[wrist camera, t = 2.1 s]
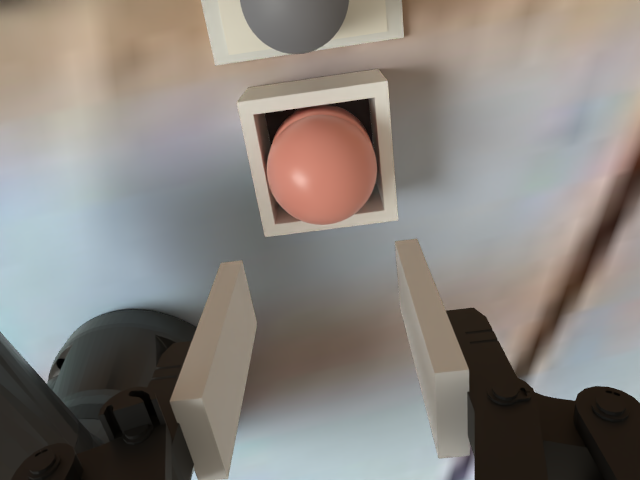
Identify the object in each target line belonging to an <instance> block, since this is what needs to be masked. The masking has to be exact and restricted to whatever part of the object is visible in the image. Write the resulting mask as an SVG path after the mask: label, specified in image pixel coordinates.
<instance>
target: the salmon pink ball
mask: <svg viewBox="0 0 640 480" xmlns="http://www.w3.org/2000/svg"><path fill="white" fill-rule="evenodd" d="M376 176H377V162H376V156H375V153H374V149H373V146H372V144H371V141H370V138H369V135H368V133H367V131H366V129H365V127H364V126H363V124H362V123H361V122H360V121H359V120H358V119H357V118H356V117H355V116H354V115H353V114H351V113H350V112H348V111H347V110H345V109H343V108H340V107H337V106H334V105H329V104H325V105H318V106H311V107H304V108H301V109H299V110H297V111H295V112H294V113H292V114H291V115H289V116H288V117H287V118H286V119H285V120H284V121H283V122H282V124H281V125H280V127H279V128H278V130H277V132H276V134H275V136H274V139H273V142H272V145H271V149H270V152H269V155H268V161H267V178H268V183H269V186H270V189H271V192H272V194H273V196H274V198H275V199H276V201H277V202H278V203H279V205H280V206H281V207H282V208H283V209H284V210H285V211H286V212H287V213H289V214H290V215H291V216H293V217H295V218H296V219H298V220H301V221H303V222H306V223H310V224H316V225H327V224H334V223H337V222H341V221H343V220H345V219H347V218H349V217H351V216H352V215H354V214H355V213H356V212H358V211H359V210H360V209H361V208H362V207H363V206H364V204H365V203H366V202H367V200H368V199H369V197H370V195H371V193H372V191H373V188H374V186H375V182H376Z"/></svg>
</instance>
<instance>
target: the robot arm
mask: <svg viewBox="0 0 640 480" xmlns="http://www.w3.org/2000/svg"><path fill="white" fill-rule="evenodd" d="M395 251H396V264H397V276H398V288H399V301H400V309H401V313H402V317H403V321H404V325H405V329H406V333H407V337H408V341H409V345H410V348H411V352H412V356H413V360H414V364H415V368H416V372H417V376H418V380H419V384H420V388H421V392H422V395H423V399H424V403H425V407H426V411H427V415H428V419H429V423H430V427H431V431H432V435H433V438H434V442H435V446H436V450H437V454H438V458H450V457H460V456H470V445H471V447H472V450H473V453H474V456H475V480H640V403H639V402H638V401H637V400H636V399H635V398H634V397H632V396H630V395H629V394H627V393H625V392H623V391H621V390H617V389H614V388H610V387H600V386H595V387H590V388H586V389H584V390H583V391H581V392H580V393H579V394H578V395H577V398H576V401H572V400H565V399H557V398H551V397H547V396H543V395H540V394H538V393H535V392H534V391H533V389H532V388H531V387H530V386H529V385H528V384H527V383H526V382H525V381H523V380H521V379H519V378H517V376H516V374H515V372H514V370H513V369H512V367H511V365H510V363H509V361H508V359H507V357H506V355H505V353H504V351H503V349H502V347H501V345H500V343H499V341H497V337H496V335H495V334H494V332H493V331H492V328H491V326H490V324H489V322H488V320H487V318H486V317H485V316H484V315H482V314H481V313H480V312H479V311H477V310H476V309H475V308H466V309H458V310H449V311H445V308H444V305H443V303H442V300H441V298H440V295H439V293H438V290H437V288H436V285H435V283H434V280H433V278H432V275H431V273H430V270H429V268H428V265H427V263H426V260H425V258H424V255H423V253H422V250H421V248H420V245H419V243H418V240H417V239H411V240H403V241H395ZM256 329H257V320H256V316H255V312H254V308H253V304H252V299H251V295H250V291H249V287H248V283H247V278H246V274H245V270H244V266H243V262H242V260H241V261H233V262H224V263H221V264H220V267H219V269H218V272H217V275H216V277H215V280H214V283H213V285H212V288H211V291H210V294H209V296H208V299H207V302H206V304H205V307H204V310H203V313H202V315H201V318H200V321H199V323H198V326H197V328H196V327H194V326H192V325H191V324H189V323H187V322H185V321H183V320H180V319H178V318H175V317H173V316H170V315H166V314H163V313H158V312H153V311H145V310H122V311H115V312H111V313H107V314H103V315H100V316H98V317H95V318H93V319H91V320H89V321H88V322H86V323H84V324H83V325H82V326H80V327H79V328H78V329H77V330H76V331H75V332H74V333H73V334H72V335H71V336H70V338H69V339H68V340H67V342H66V343H65V344H64V346H63V347H62V349H61V350H60V351H59V353H58V354H57V356H56V358H55V360H54V362H53V364H52V367H51V370H50V373H49V379H48V383H47V384H46V383H45V382H44V380H43V379H42V378H41V377H40V376H39V375H38V374H37V373H36V371H35V370H34V369H33V368H32V367H31V366H30V365H29V364H28V362H27V361H26V360H25V359H24V358H23V357H22V356H21V355H20V353H19V352H18V351H17V350H16V349H15V348H14V347H13V346H12V344H11V343H10V342H9V341H8V340H7V339H6V338H5V337H4V336H3V334H2V333H1V332H0V480H191V477H192V474H193V472H194V471H195V473H196V476H197V478H198V480H221V479H228V476H229V470H230V465H231V460H232V455H233V449H234V444H235V439H236V434H237V428H238V423H239V418H240V413H241V407H242V402H243V397H244V392H245V386H246V381H247V376H248V371H249V365H250V360H251V355H252V350H253V344H254V339H255V334H256Z"/></svg>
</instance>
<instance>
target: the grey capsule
mask: <svg viewBox="0 0 640 480" xmlns="http://www.w3.org/2000/svg"><path fill="white" fill-rule="evenodd" d="M240 4H241V8H242V12H243V15H244V17H245V20H246V22H247V24H248V26H249V27H250V29H251V30H252V31H253V33H254V34H255V35H256V36H257V37H258V38H259V39H260V40H261V41H262V42H263V43H264V44H266V45H267V46H269V47H271V48H273V49H275V50H277V51H280V52H283V53H288V54H304V53H308V52H311V51H314V50H317V49H318V48H320V47H322V46H324V45H325V44H326V43H328V42H329V41H330V40H331V39H332V38H333V37H334V36H335V34H336V33H337V32H338V31H339V29H340V27H341V26H342V24H343V22H344V19H345V17H346V14H347V10H348V5H349V0H240Z"/></svg>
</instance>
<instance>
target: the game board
mask: <svg viewBox="0 0 640 480" xmlns="http://www.w3.org/2000/svg"><path fill="white" fill-rule="evenodd" d="M201 3H202V7H203V12H204V16H205V21H206V25H207V30H208V34H209V39H210V43H211V48H212V53H213V57H214V62H215V66H216V65H223V64H229V63H236V62H243V61H250V60H256V59H263V58H270V57H277V56H283V55H290V54H288V53H283V52H280V51H277V50H275V49H273V48H271V47H269V46H267V45H266V44H264V43H263V42H262V41H261V40H260V39H259V38H258V37H257V36H256V35H255V34H254V33H253V31H252V30H251V29H250V27H249V26H248V24H247V22H246V20H245V17H244V15H243V12H242V8H241V4H240V0H201ZM398 38H404V30H403V13H402V0H349V5H348V10H347V14H346V17H345V19H344V22H343V24H342V26H341V27H340V29H339V31H338V32H337V33H336V34H335V36H334V37H333V38H332V39H331V40H330V41H329V42H328V43H326V44H325V45H324V46H322V47H320V48H318V49H317V50H324V49H330V48H337V47H344V46H351V45H357V44H364V43H371V42H377V41H384V40H391V39H398ZM317 50H314V51H317ZM367 98H369V109H370V119H371V130H372V141H373V149H374V153H375V156H376V162H377V176H376V183H375V186H374V188H373V191H372V193H371V195H370V197H369V199H368V200H367V202H366V203H365V204H364V206H363V207H362V208H361V209H360V210H359V211H358V212H356V213H355V214H354V215H352V216H351V217H349V218H347V219H345V220H343V221H341V222H337V223H334V224H327V225H316V224H310V223H306V222H303V221H301V220H298V219H296V218H295V217H293V216H291V215H290V214H289V213H287V212H286V211H285V210H284V209H283V208H282V207H281V206H280V205H279V203H278V202H277V201H276V199H275V198H274V196H273V194H272V192H271V189H270V186H269V183H268V178H267V161H268V155H269V152H270V149H271V142H270V137H269V132H268V126H267V121H266V116H265V113H268V112H275V111H283V110H290V109H297V108H304V107H311V106H318V105H325V104H332V103H339V102H346V101H353V100H360V99H367ZM237 107H238V112H239V117H240V121H241V126H242V131H243V136H244V140H245V145H246V150H247V155H248V159H249V164H250V169H251V174H252V179H253V183H254V188H255V193H256V198H257V202H258V207H259V212H260V217H261V221H262V226H263V231H264V236H265V237H271V236H279V235H286V234H294V233H302V232H310V231H318V230H326V229H334V228H342V227H350V226H358V225H366V224H374V223H382V222H390V221H397V220H398V211H397V197H396V184H395V171H394V158H393V145H392V132H391V118H390V105H389V92H388V81H387V79H386V78H385V77H384V76H383V74H382V73H381V72H380V70H379V69H374V70H367V71H360V72H353V73H346V74H339V75H332V76H326V77H319V78H312V79H305V80H298V81H291V82H284V83H277V84H270V85H264V86H257V87H250V88H247V90H246V91H245V92H244V94H243V95H242V96H241V97H240V99H239V100H238V101H237Z"/></svg>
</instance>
